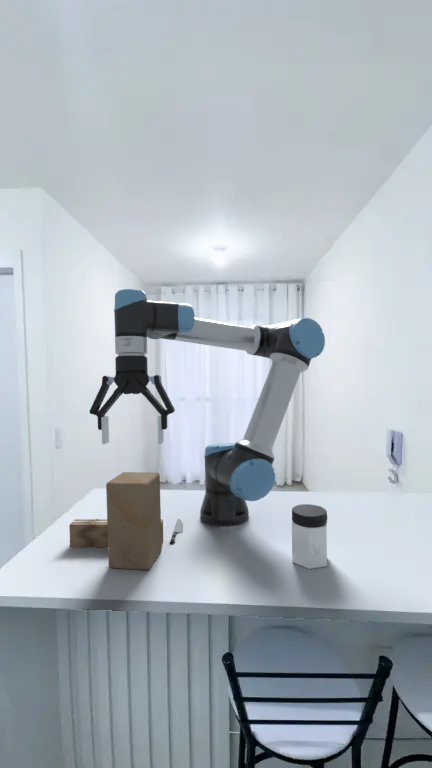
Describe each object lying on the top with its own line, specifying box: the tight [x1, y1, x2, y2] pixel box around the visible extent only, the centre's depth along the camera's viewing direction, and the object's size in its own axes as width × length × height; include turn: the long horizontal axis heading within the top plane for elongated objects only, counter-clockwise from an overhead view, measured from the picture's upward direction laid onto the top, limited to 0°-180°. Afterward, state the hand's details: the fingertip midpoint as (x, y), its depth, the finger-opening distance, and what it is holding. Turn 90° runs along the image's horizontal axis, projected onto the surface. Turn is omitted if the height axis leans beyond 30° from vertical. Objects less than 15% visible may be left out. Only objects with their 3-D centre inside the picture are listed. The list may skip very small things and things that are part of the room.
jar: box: [291, 503, 328, 570], centre depth 86 cm, size 9×8×12 cm
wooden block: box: [105, 471, 163, 571], centre depth 88 cm, size 10×10×20 cm
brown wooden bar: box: [68, 518, 164, 548], centre depth 96 cm, size 24×4×6 cm, turn 87°
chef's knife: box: [169, 518, 184, 545], centre depth 105 cm, size 19×1×3 cm
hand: (133, 443), depth 88 cm, fingers open, 13 cm apart
